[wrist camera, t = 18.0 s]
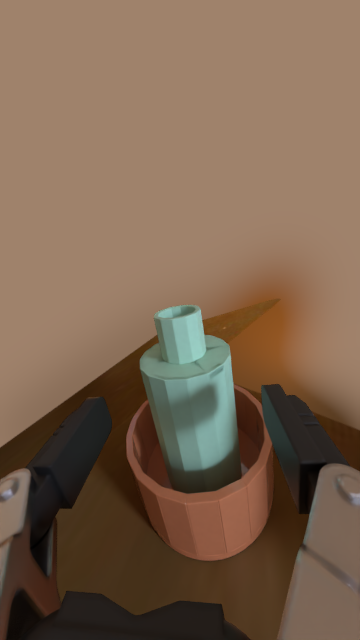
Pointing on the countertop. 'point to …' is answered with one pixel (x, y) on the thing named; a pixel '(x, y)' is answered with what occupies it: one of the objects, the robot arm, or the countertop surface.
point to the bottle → (192, 402)
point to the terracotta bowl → (206, 507)
